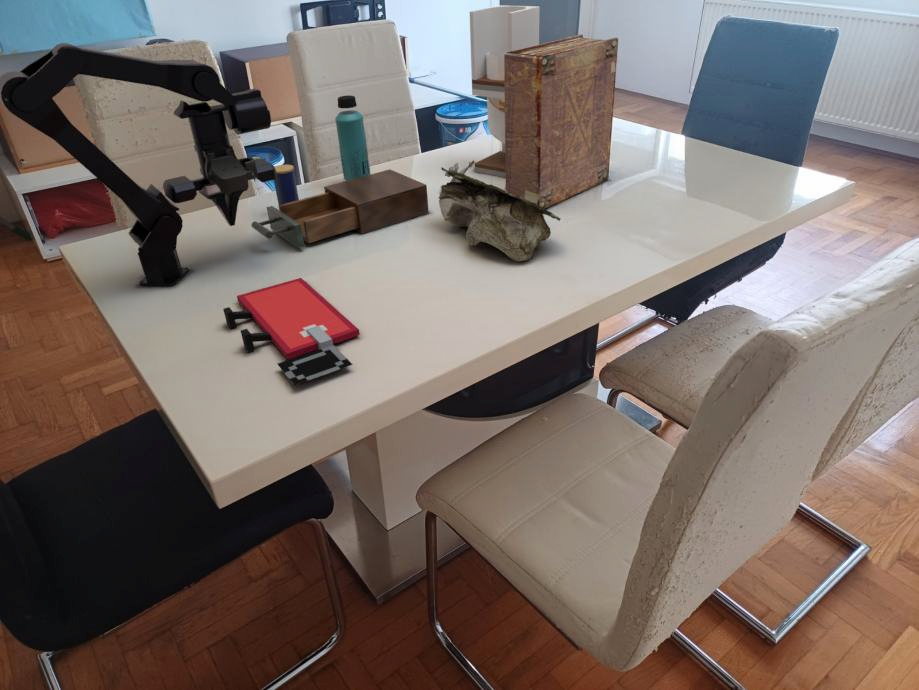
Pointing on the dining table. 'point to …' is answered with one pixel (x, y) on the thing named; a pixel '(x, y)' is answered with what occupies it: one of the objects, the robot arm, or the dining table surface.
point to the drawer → (310, 219)
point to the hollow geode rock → (494, 216)
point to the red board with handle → (296, 328)
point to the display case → (498, 64)
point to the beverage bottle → (352, 140)
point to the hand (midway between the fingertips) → (231, 225)
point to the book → (559, 117)
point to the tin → (285, 184)
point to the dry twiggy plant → (460, 171)
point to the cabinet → (383, 199)
